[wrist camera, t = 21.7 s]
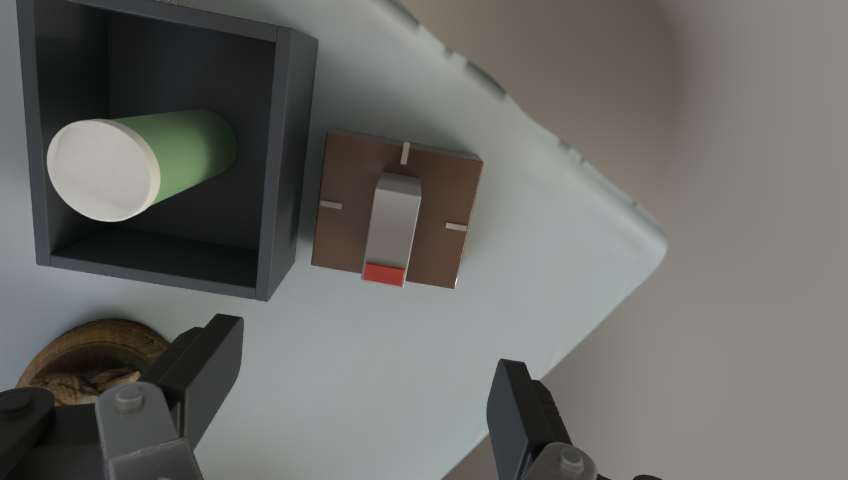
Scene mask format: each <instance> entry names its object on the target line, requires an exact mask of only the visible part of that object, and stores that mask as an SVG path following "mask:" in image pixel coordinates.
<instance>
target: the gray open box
mask: <svg viewBox="0 0 848 480" xmlns="http://www.w3.org/2000/svg"><path fill="white" fill-rule="evenodd" d="M16 6H17V18H18V31H19V44H20V57H21V70H22V83H23V96H24V109H25V122H26V135H27V147H28V160H29V173H30V186H31V199H32V212H33V225H34V238H35V251H36V263H37V265H41V266H47V267H55V268H61V269H67V270H73V271H80V272H86V273H92V274H98V275H105V276H111V277H117V278H123V279H130V280H136V281H142V282H148V283H155V284H161V285H167V286H173V287H180V288H186V289H192V290H198V291H205V292H211V293H217V294H223V295H230V296H236V297H242V298H248V299H255V300H260V301H266V302H268V301H269V299H270V298H271V296H272V295H273V293H274V292H275V290H276V289H277V287H278V286H279V284H280V283H281V281H282V280H283V279H284V277H285V276H286V274H287V273H288V271H289V270H290V268H291V267H292V265H293V264H294V262H295V253H296V243H297V234H298V225H299V215H300V206H301V197H302V188H303V178H304V169H305V160H306V151H307V141H308V132H309V123H310V113H311V104H312V95H313V86H314V76H315V67H316V58H317V49H318V40H317V39H315V38H313V37H310V36H308V35H306V34H303V33H301V32H299V31H297V30H294V29H292V28H287V27H282V26H277V25H272V24H267V23H262V22H257V21H252V20H247V19H242V18H238V17H233V16H228V15H223V14H218V13H213V12H208V11H203V10H198V9H193V8H188V7H183V6H178V5H173V4H168V3H163V2H158V1H153V0H16ZM194 109H204V110H209V111H212V112H214V113H216V114H218V115H220V116H221V117H223V118H224V119H225V120H226V121H227V122H228V123H229V125H230V126H231V127H232V129H233V131H234V133H235V136H236V139H237V155H236V158H235V160H234V162H233V164H232V165H231V166H230V167H229V168H228V169H227V170H226V171H224V172H223V173H220V174H218V175H216V176H214V177H212V178H210V179H207V180H205V181H203V182H201V183H199V184H197V185H194V186H192V187H190V188H188V189H186V190H184V191H181V192H179V193H177V194H175V195H173V196H171V197H168V198H166V199H164V200H162V201H160V202H157V203H155V204H153V205H151V206H149V207H148V208H147V209H146V210H144V211H143V212H141V213H139V214H137V215H135V216H133V217H130V218H128V219H125V220H122V221H115V222H107V221H100V220H96V219H92V218H90V217H87V216H85V215H83V214H81V213H79V212H78V211H76V210H75V209H73V208H72V207H71V206H69V205H68V204H67V203H66V202H65V201H64V200H63V199H62V197H61V196H60V195H59V194H58V192H57V191H56V189H55V188H54V186H53V184H52V182H51V179H50V176H49V173H48V168H47V153H48V149H49V146H50V143H51V141H52V139H53V138H54V136H55V135H56V134H57V133H58V132H59V131H60V130H61V129H62V128H64V127H65V126H67V125H69V124H71V123H74V122H77V121H82V120H91V119H106V120H111V119H119V118H127V117H136V116H144V115H152V114H161V113H169V112H177V111H186V110H194Z"/></svg>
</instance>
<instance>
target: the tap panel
mask: <svg viewBox="0 0 848 480" xmlns="http://www.w3.org/2000/svg"><path fill="white" fill-rule="evenodd" d="M482 167H483V161H482V160H481V159H480V158H479V156H478V155H475V154H469V153H464V152H459V151H453V150H448V149H443V148H437V147H432V146H427V145H422V144H416V143H411V142H406V141H400V140H395V139H390V138H384V137H379V136H374V135H368V134H363V133H358V132H353V131H347V130H342V129H337V128H335V129H333V130H331V131H330V132H328V133H327V136H326V144H325V152H324V161H323V169H322V177H321V186H320V194H319V202H318V211H317V219H316V227H315V236H314V244H313V252H312V261H311V265H313V266H319V267H325V268H331V269H337V270H343V271H349V272H355V273H361V274H362V270H363V264H364V258H365V251H366V245H367V239H368V232H369V226H370V220H371V214H372V207H373V201H374V195H375V189H376V186H377V184H378V181H379V179H380V176H381V174H382V172H388V173H393V174H399V175H404V176H410V177H415V178H420V179H421V201H420V206H419V212H418V217H417V222H416V227H415V232H414V238H413V243H412V248H411V253H410V259H409V264H408V269H407V274H406V279H405V281H409V282H415V283H421V284H427V285H433V286H439V287H445V288H451V289H455V286H456V281H457V277H458V273H459V268H460V264H461V259H462V255H463V251H464V246H465V242H466V237H467V233H468V229H469V224H470V220H471V215H472V211H473V207H474V202H475V198H476V194H477V189H478V185H479V180H480V176H481V172H482Z"/></svg>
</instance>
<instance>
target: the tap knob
mask: <svg viewBox="0 0 848 480" xmlns="http://www.w3.org/2000/svg"><path fill="white" fill-rule="evenodd" d="M420 201H421V179H420V178H415V177H410V176H404V175H399V174H393V173H388V172H382V174H381V176H380V179H379V181H378V184H377V186H376V189H375V195H374V201H373V207H372V214H371V220H370V226H369V232H368V239H367V245H366V251H365V258H364V264H363V270H362V276H361V280H362V281H366V282H372V283H378V284H384V285H390V286H396V287H402V288H403V287H404V285H405V279H406V274H407V269H408V264H409V259H410V253H411V248H412V243H413V238H414V232H415V227H416V222H417V217H418V212H419V206H420Z"/></svg>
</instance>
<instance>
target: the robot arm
mask: <svg viewBox="0 0 848 480" xmlns="http://www.w3.org/2000/svg"><path fill="white" fill-rule="evenodd" d="M243 331H244V319H243V318H242V317H237V316H231V315H225V314H216V315H215V316H214V317H213V318H212V319H211V321H210V322H209V323H208V324H207V325H206V326H205V328H200V327H194V328H192V329H190V330H188V331H186V332H184V333H182V334H180V335H179V336H178V337H177V338H176V339H175V340H174V341H173V342H172V343H171V344H170V347H167V348H166V350H165V351H164V352H163V353H162V355H160V356H159V357H158V358H157V359H156V360H155V361H154V362H153V363H152V364H151V365H150V367H149V368H148V369H147V370H146V371H145V372H144V373H143V374H142V375H141V376H140V377H139V378H138V379H137V380H136V381H135V382H129V383H124V384H120V385H117V386H114V387H112V388H110V389H108V390H107V391H105V392H104V393H102V394H101V395H100V396H99V397H98V399H97V400H96V402H95V403H88V404H75V405H61V406H55V396H54V394H53V393H52V392H51V391H49V390H47V389H44V388H39V387H22V388H16V389H11V390H7V391H4V392H1V393H0V480H204V479H203V477H202V474H201V471H200V469H199V466H198V464H197V461H196V458H195V456H194V453H193V451H194V449H195V447H196V446H197V444H198V442H199V441H200V439H201V437H202V436H203V434H204V432H205V431H206V429H207V428H208V426H209V424H210V423H211V421H212V419H213V418H214V416H215V414H216V413H217V411H218V409H219V408H220V406H221V404H222V403H223V401H224V400H225V398H226V396H227V395H228V393H229V391H230V390H231V388H232V386H233V385H234V383H235V381H236V379H237V377H238V374H239V370H240V366H241V357H242V344H243ZM486 416H487V423H488V428H489V433H490V438H491V443H492V447H493V452H494V457H495V462H496V467H497V472H498V477H499V480H610V479H608V478H606V477H603V476H601V475H599V474H598V471H597V468H596V465H595V464H594V462H593V461H592V459H591V458H590V457H589V456H588V455H587V454H586V453H584V452H583V451H581V450H580V449H578V448H576V447H575V446H573V444H572V442H571V440H570V438H569V435H568V433H567V430H566V428H565V426H564V423H563V421H562V419H561V416H559V412H558V410H557V407H556V406H555V402H554V400H553V398H552V396H551V393H550V392H549V391H548V389H547V388H546V387H545V386H544V385H543V384H542V383H541V382H540V381H539V380H532V379H531V377H530V375H529V372H528V370H527V367H526V364H525V363H524V362H520V361H513V360H507V359H500V360H499V362H498V365H497V368H496V372H495V376H494V379H493V383H492V387H491V390H490V394H489V398H488V402H487V411H486ZM633 480H662V479H660V478H657V477H654V476H650V475H639V476H636V477H635V478H634V479H633Z"/></svg>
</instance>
